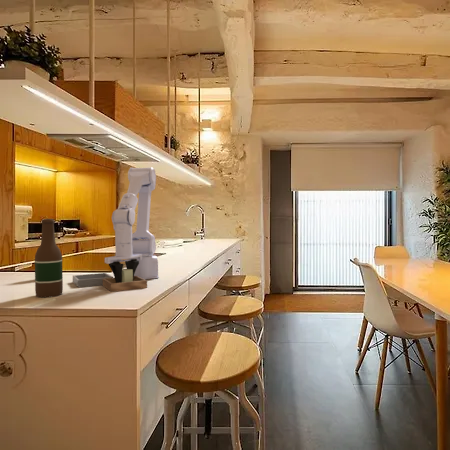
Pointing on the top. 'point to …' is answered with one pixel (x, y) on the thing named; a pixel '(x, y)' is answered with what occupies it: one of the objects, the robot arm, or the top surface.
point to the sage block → (127, 275)
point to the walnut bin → (124, 284)
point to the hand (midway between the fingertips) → (124, 282)
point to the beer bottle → (48, 264)
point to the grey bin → (90, 279)
